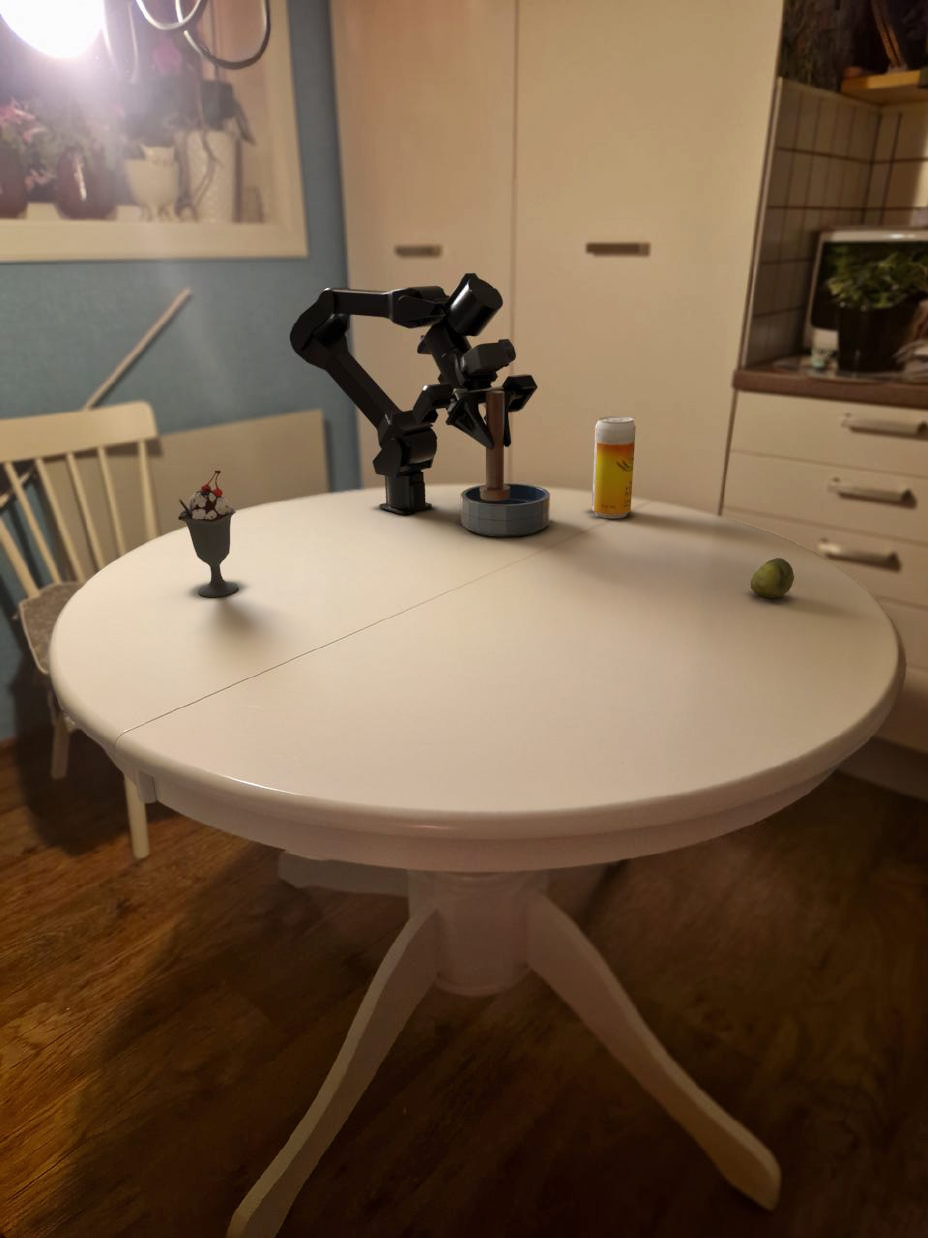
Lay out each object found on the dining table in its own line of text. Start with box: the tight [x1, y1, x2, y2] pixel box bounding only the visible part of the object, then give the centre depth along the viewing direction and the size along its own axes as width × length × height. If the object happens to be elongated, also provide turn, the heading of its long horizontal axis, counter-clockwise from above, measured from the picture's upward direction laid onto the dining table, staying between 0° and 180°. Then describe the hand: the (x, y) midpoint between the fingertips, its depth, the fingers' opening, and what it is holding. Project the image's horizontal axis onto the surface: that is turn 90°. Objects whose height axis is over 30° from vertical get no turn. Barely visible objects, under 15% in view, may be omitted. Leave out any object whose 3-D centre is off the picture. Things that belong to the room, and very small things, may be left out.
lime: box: [750, 557, 795, 599], centre depth 102 cm, size 4×5×5 cm
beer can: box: [591, 415, 637, 519], centre depth 135 cm, size 6×6×15 cm
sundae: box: [177, 470, 239, 598], centre depth 106 cm, size 7×7×15 cm
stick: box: [480, 391, 510, 501], centre depth 123 cm, size 4×4×15 cm
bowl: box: [460, 482, 551, 538], centre depth 132 cm, size 13×13×5 cm
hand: (500, 446), depth 122 cm, fingers closed on stick, 2 cm apart
